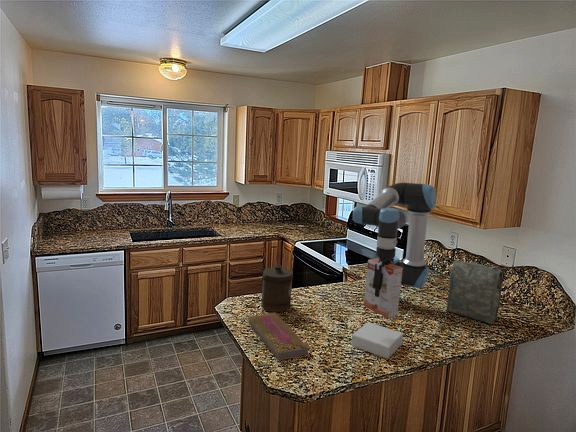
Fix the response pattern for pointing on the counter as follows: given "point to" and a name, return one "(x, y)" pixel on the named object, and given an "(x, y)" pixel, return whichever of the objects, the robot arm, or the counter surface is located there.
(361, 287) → the counter surface
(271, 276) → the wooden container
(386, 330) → the marble slab
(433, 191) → the robot arm
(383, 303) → the cracker box
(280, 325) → the brown and pink box
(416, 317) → the counter surface
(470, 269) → the bag
